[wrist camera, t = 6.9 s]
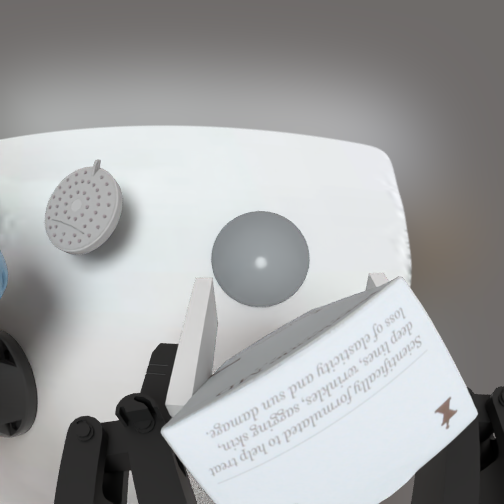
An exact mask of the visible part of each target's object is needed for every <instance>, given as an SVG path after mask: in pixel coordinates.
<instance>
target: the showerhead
mask: <svg viewBox="0 0 504 504" xmlns="http://www.w3.org/2000/svg"><path fill="white" fill-rule="evenodd" d="M100 163H101V160H95V162H94V166H93V167H85V168H82V169H79V170H77V171H75V172H73V173H71V174H70V175H68V176H67V177H66V178H64V179H63V180H62V181H61V183H60V184H59V185H58V186H57V187H56V189H55V190H54V192H53V193H52V195H51V197H50V200H49V202H48V205H47V208H46V213H45V228H46V232H47V235H48V238H49V239H50V241H51V242H52V244H53V245H54V246H56V247H57V248H58V249H60V250H62V251H65V252H67V253H70V254H75V255H79V254H85V253H88V252H91V251H93V250H95V249H97V248H98V247H99V246H101V245H102V244H103V243H104V242H105V241H106V240H107V239H108V238H109V237H110V236H111V234H112V233H113V231H114V230H115V228H116V226H117V224H118V222H119V219H120V216H121V212H122V205H123V198H122V192H121V189H120V187H119V185H118V183H117V182H116V180H115V179H114V178H113V177H112V175H111V174H110V173H109V172H107V171H106V170H104V169H102V168H100Z"/></svg>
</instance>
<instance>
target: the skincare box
mask: <svg viewBox="0 0 504 504" xmlns="http://www.w3.org/2000/svg"><path fill="white" fill-rule="evenodd" d="M477 415H478V412H477V409H476V407H475V405H474V403H473V400H472V398H471V396H470V394H469V392H468V389H467V387H466V385H465V383H464V381H463V379H462V377H461V375H460V373H459V371H458V369H457V367H456V365H455V363H454V361H453V359H452V357H451V355H450V353H449V352H448V350H447V348H446V346H445V344H444V343H443V341H442V339H441V337H440V335H439V333H438V331H437V330H436V328H435V326H434V324H433V323H432V321H431V319H430V318H429V316H428V314H427V313H426V311H425V309H424V308H423V306H422V305H421V303H420V302H419V300H418V299H417V297H416V296H415V294H414V293H413V291H412V290H411V288H410V287H409V285H408V284H407V282H406V281H405V279H404V278H403V277H397V278H395V279H393V280H391V281H389V282H387V283H385V284H383V285H381V286H378V287H376V288H372V289H369V290H367V291H364V292H361V293H358V294H355V295H352V296H350V297H347V298H344V299H341V300H338V301H336V302H333V303H330V304H328V305H325V306H322V307H319V308H316V309H313V310H311V311H309V312H307V313H305V314H303V315H302V316H300V317H298V318H296V319H294V320H293V321H291V322H289V323H287V324H286V325H284V326H282V327H280V328H279V329H277V330H275V331H274V332H272V333H270V334H269V335H267V336H265V337H264V338H262V339H261V340H259V341H257V342H256V343H254V344H253V345H251V346H249V347H248V348H246V349H245V350H243V351H241V352H240V353H238V354H237V355H235V356H234V357H232V358H231V359H229V360H227V361H226V362H225V363H224V364H223V365H222V366H221V367H220V368H219V369H218V370H217V371H216V372H215V373H214V374H213V375H212V376H211V377H210V378H209V379H208V380H207V381H206V382H205V383H204V385H203V386H202V387H201V388H200V389H199V390H198V391H197V392H196V393H195V394H194V395H193V396H192V397H191V398H190V399H189V400H188V402H187V403H186V404H185V405H184V406H183V408H182V409H181V410H180V411H179V412H178V413H177V414H176V415H175V416H174V417H173V418H172V419H171V420H170V421H169V422H168V423H167V424H166V425H164V426H163V427H162V429H161V434H162V436H163V437H164V439H165V440H166V441H167V443H168V444H169V446H170V447H171V448H172V450H173V451H174V452H175V454H176V455H177V457H178V458H179V459H180V461H181V462H182V463H183V465H184V466H185V467H186V469H187V470H188V471H189V472H190V474H191V475H192V476H193V477H194V479H195V480H196V481H197V482H198V484H199V485H200V486H201V487H202V489H203V490H204V491H205V492H206V493H207V495H208V496H209V497H210V498H211V499H212V501H213V502H214V503H215V504H378V503H380V502H381V501H383V500H384V499H386V498H388V497H389V496H391V495H392V494H393V493H394V492H396V491H397V490H398V489H399V488H400V487H402V486H403V485H404V484H405V483H406V482H407V481H408V480H409V479H410V478H411V477H412V476H413V475H414V474H415V473H416V472H417V471H418V470H419V469H420V468H421V467H422V466H424V465H425V464H426V463H427V462H428V461H430V460H431V459H432V458H433V457H434V456H435V455H437V454H438V453H439V452H440V451H441V450H442V449H444V448H445V447H446V446H447V445H448V444H449V443H450V442H451V441H452V440H453V439H455V438H456V437H457V436H458V435H459V434H460V433H461V432H462V431H463V430H464V429H465V428H466V427H467V426H468V425H469V424H470V423H471V422H472V421H473V420H474V419H475V418H476V416H477Z"/></svg>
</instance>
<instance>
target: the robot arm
mask: <svg viewBox="0 0 504 504" xmlns="http://www.w3.org/2000/svg"><path fill="white" fill-rule="evenodd" d="M7 282H8V270H7V265H6V262H5V259H4V257H3V255H2V253H1V251H0V299H1V297H2V295H3V293H4V291H5V289H6V286H7ZM387 282H389V281H388V279H387V277H386V276H385V274H384V273H369V276H368V281H367V286H366V290H365V291H367V290H369V289H372V288H376V287H378V286H381V285H383V284H385V283H387ZM217 327H218V320H217V312H216V304H215V295H214V287H213V278H195V282H194V285H193V289H192V293H191V297H190V301H189V305H188V309H187V313H186V317H185V321H184V325H183V329H182V333H181V337H180V341H179V344H166V343H160V344H159V345H158V346H157V348H156V349H155V350H154V351H153V352H152V355H151V358H150V362H149V366H148V368H147V374H146V375H145V379H144V382H143V385H142V389H141V392H140V393H133V394H130V395H128V396H125V397H124V398H123V399H122V400H120V402H119V403H118V405H117V407H116V413H115V414H116V416H117V417H118V419H119V420H118V421H111V422H104V423H100V422H99V421H98V420H96V419H95V418H93V417H90V416H81V417H79V418H77V419H75V420H74V421H73V422H72V423H71V424H70V426H69V429H68V432H67V436H66V440H65V445H64V450H63V454H62V459H61V464H60V470H59V475H58V481H57V487H56V493H55V500H54V504H127V492H128V477H129V471H130V470H132V475H133V480H134V485H135V490H136V494H137V499H138V503H139V504H197V501H196V498H195V495H194V493H193V490H192V487H191V483H190V480H189V477H188V474H187V471H186V468H185V466H184V465H183V463H182V462H181V461H180V459H179V458H178V457H177V455H176V454H175V452H174V451H173V450H172V448H171V447H170V446H169V444H168V443H167V441H166V440H165V439H164V437H163V436H162V434H161V429H162V427H163V426H164V425H166V424H167V423H168V422H169V421H170V420H171V419H172V418H173V417H174V416H175V415H176V414H177V413H178V412H179V411H180V410H181V409H182V408H183V406H184V405H185V404H186V403H187V402H188V400H189V399H190V398H191V397H192V396H193V395H194V394H195V393H196V392H197V391H198V390H199V389H200V388H201V387H202V386H203V385H204V383H205V382H206V381H207V380H208V379H209V378H210V377H211V376H212V368H213V360H214V351H215V343H216V335H217ZM467 389H468V392H469V394H470V396H471V398H472V400H473V403H474V405H475V407H476V409H477V412H478V415H477V416H476V418H475V419H474V420H473V421H472V422H471V423H470V424H469V425H468V426H467V427H466V428H465V429H464V430H463V431H462V432H461V433H460V434H459V435H458V436H457V437H456V438H455V439H453V440H452V441H451V442H450V443H449V444H448V445H447V446H446V447H445V448H444V449H442V450H441V451H440V452H439V453H438V454H437V455H435V456H434V457H433V458H432V459H431V460H430V461H428V462H427V463H426V464H425V465H424V466H422V467H421V468H420V469H419V470H418V471H417V472H416V473H415V480H414V487H413V495H412V501H411V504H504V387H498V388H496V389H495V391H494V392H493V393H492V394H491V395H478V394H474V393H473V392H472V390H471V389H469V388H468V387H467ZM36 409H37V395H36V387H35V382H34V377H33V374H32V371H31V368H30V365H29V362H28V360H27V358H26V356H25V354H24V352H23V351H22V349H21V347H20V346H19V345H18V343H17V342H16V341H15V340H14V339H13V338H12V337H11V336H10V335H9V334H7V333H6V332H4V331H1V330H0V437H14V436H17V435H21V434H23V433H25V432H27V431H28V430H29V429H30V427H31V426H32V424H33V422H34V419H35V415H36ZM493 433H495V436H496V438H494V436H493Z"/></svg>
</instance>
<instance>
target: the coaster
mask: <svg viewBox="0 0 504 504" xmlns="http://www.w3.org/2000/svg"><path fill="white" fill-rule="evenodd" d="M211 260H212V268H213V272H214V275H215V278H216V280H217V281H218V283H219V285H220V286H221V287H222V289H223V290H224V291H225V292H226V293H227V294H228V295H229V296H230V297H232V298H233V299H235V300H236V301H238V302H240V303H243V304H246V305H249V306H255V307H266V306H272V305H275V304H278V303H281V302H283V301H284V300H286V299H288V298H289V297H290V296H292V295H293V294H294V293H295V292H296V291H297V290H298V289H299V287H300V286H301V285H302V283H303V281H304V279H305V277H306V275H307V272H308V268H309V250H308V246H307V243H306V240H305V238H304V236H303V235H302V233H301V231H300V230H299V229H298V228H297V227H296V226H295V225H294V224H293V223H292V222H291V221H289V220H288V219H286V218H285V217H283V216H281V215H278V214H275V213H271V212H265V211H256V212H250V213H246V214H243V215H240V216H238V217H236V218H234V219H233V220H232V221H230V222H229V223H228V224H227V225H226V226H225V227H224V228H223V229H222V230H221V231H220V233H219V234H218V236H217V238H216V240H215V243H214V246H213V250H212V259H211Z"/></svg>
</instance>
